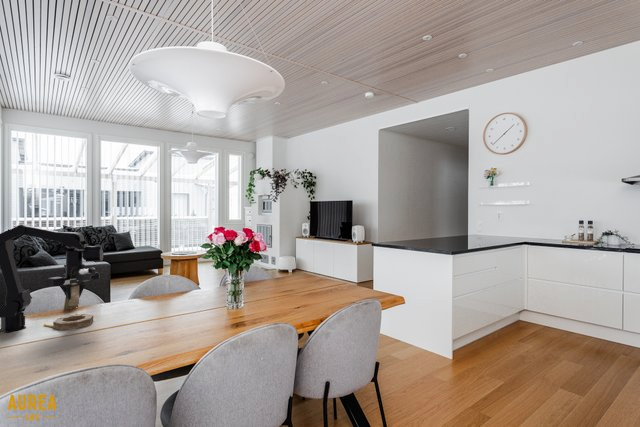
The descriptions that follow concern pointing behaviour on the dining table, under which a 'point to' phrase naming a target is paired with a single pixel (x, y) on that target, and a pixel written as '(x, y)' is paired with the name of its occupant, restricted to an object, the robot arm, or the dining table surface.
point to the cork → (66, 305)
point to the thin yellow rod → (48, 325)
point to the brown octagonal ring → (73, 321)
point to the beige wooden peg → (74, 295)
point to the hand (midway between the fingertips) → (73, 298)
